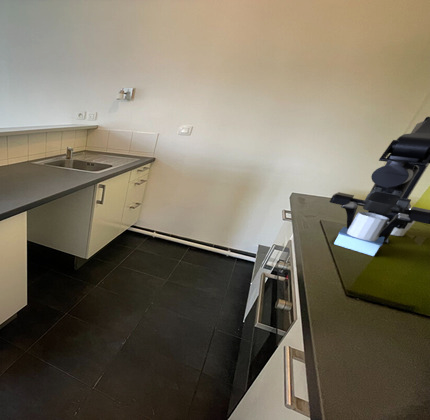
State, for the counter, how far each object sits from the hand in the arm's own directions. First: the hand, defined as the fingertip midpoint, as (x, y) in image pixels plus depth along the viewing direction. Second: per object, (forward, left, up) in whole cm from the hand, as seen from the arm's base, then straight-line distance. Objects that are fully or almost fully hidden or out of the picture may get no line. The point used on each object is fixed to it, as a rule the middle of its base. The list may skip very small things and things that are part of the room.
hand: (362, 232), depth 74 cm
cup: (0, 0, -1) cm, 1 cm away
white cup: (-44, +6, -9) cm, 45 cm away
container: (-12, 0, -8) cm, 15 cm away
